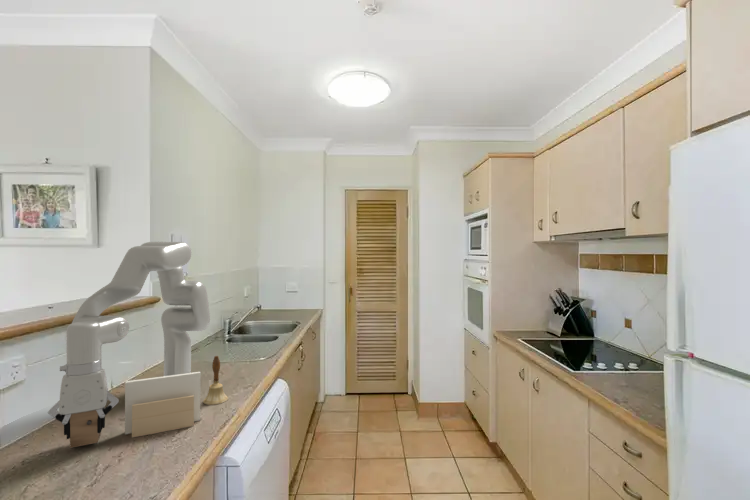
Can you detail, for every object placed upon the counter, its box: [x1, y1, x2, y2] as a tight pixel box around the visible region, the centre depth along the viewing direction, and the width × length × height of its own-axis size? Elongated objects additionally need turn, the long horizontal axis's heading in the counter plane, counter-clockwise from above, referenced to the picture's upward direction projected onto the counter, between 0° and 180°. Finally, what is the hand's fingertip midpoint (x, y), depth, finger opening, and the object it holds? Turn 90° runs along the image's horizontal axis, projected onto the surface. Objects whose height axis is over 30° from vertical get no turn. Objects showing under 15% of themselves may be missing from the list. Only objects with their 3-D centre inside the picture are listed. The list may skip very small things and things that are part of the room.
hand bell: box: [202, 355, 229, 406], centre depth 137 cm, size 8×8×16 cm
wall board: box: [124, 371, 201, 438], centre depth 115 cm, size 5×20×15 cm, turn 118°
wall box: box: [69, 410, 102, 449], centre depth 105 cm, size 9×6×10 cm
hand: (85, 433), depth 103 cm, fingers closed on wall box, 6 cm apart
